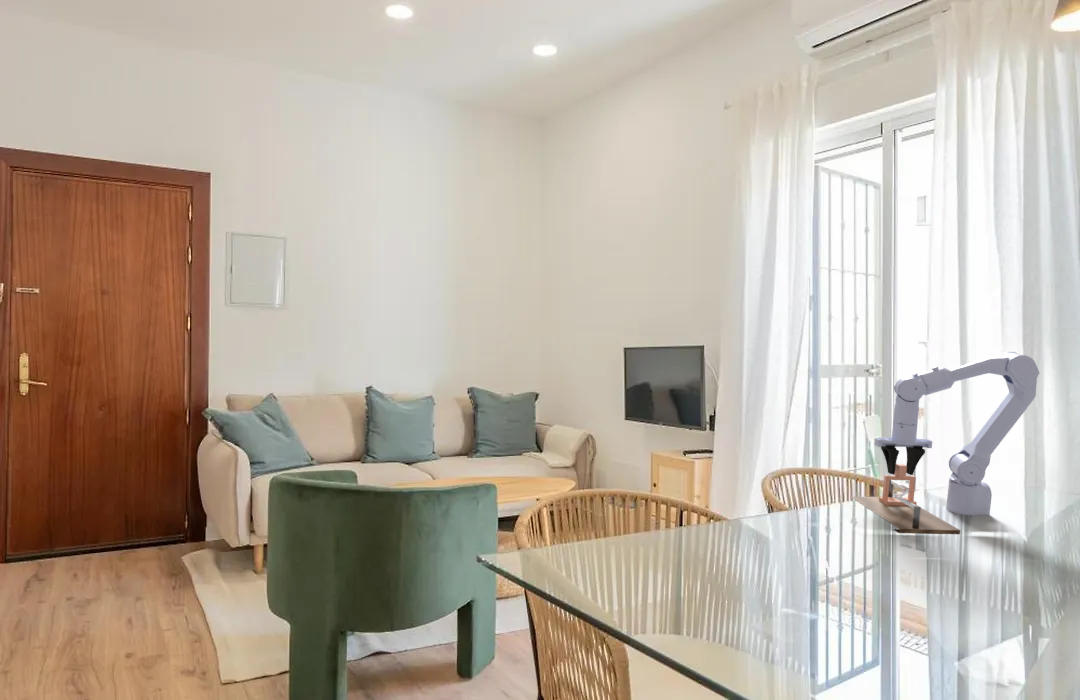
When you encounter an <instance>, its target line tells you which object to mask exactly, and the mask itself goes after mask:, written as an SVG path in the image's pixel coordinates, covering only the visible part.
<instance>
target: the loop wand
mask: <svg viewBox="0 0 1080 700" xmlns="http://www.w3.org/2000/svg"><path fill="white" fill-rule="evenodd" d="M906 465H907V464H904V463H896V468H895V474H894V475H893V474H884V477H883V486H882V487H883V488H882V496H878V497H879V501H881V502H882V503H884V504H885V505H895V506H908V505H906V504H904V503H903V502H901V501H899V500H898V499H896V498H895V496H894V497H888V493H889V482H890V480H894V481H908V482H909V483H908V488H909V489H910V492H908V493H907V497H905V496H904V497H903V496H902V497H903V498H905V499H906V500H908V501H910V502H912V503H913V504H915V505H917V504H918V503H917V502H916V501H915V500H914V499H915V488H916V479H917V477H916V475H907V473H906V471H907V466H906Z"/></svg>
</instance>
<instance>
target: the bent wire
mask: <svg viewBox="0 0 1080 700" xmlns="http://www.w3.org/2000/svg"><path fill="white" fill-rule="evenodd" d="M894 486H895V487H897V488H899V489H901V491H900V492H898V493H896V494H895V495H894V489H895V488H894ZM908 492H910V489H909V487H907V486H905V485H903V484H901V483H899V482H898V481H897V480H890V482H889V493H888V497H893V496H894V497H895V498H896V499H898V500H899V501H901V502H903V503H904V504H906V505H908V506H910V507H911V508H913V509H914V514H913V524H912V528H914V529H919V520H920V510H921V508H922V507H921V506H919V505H917V504H916V505H915V504H913V503H912V502H910V501H908V500H906V499H905V498H903V496H904V497H905V495H906V494H907V495H908Z"/></svg>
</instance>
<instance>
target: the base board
mask: <svg viewBox="0 0 1080 700" xmlns="http://www.w3.org/2000/svg"><path fill="white" fill-rule="evenodd" d="M879 497H880V496H850V498H852V499H853V500H854V501H856V502H858V503H859V504H860V505H862V506H864V507H865V508H866V509H868V510H869V511H871V512H872V513H874V514H876V515H877V516H879V517H880V518H881V519H883V520H884V521H886V522H888V523H889V524H891V525H892V526H893V527H896V528H893V530H894V531H895V532H896V533H898V534H928V535H931V534H932V535H961V529H960V528H957V527H956V526H953V525H952V524H950V523H949V522H947V521H946V520H944V519H941V518H940V517H938V516H936V515H934V514H933V513H931V512H930V511H929V510H925V509H924V508H923V507H921V510H920V520H919V529H914V528H912V524H913V514H914V509H913V508H911V507H910V506H895V505H885V504H884V503H882V502H881V501H879Z"/></svg>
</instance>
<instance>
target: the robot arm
mask: <svg viewBox="0 0 1080 700" xmlns="http://www.w3.org/2000/svg"><path fill="white" fill-rule="evenodd" d="M985 374H987V375H988V374H992V375H997V376H1002V377H1003V379H1004V380H1005V383H1006V386H1007V389H1008V394H1007V395H1006V396H1005V398H1004V399H1003V400H1002V402H1001V403H1000V404H999V405H998V407H997V408H996V410H995V411H993V413H992V415H991V416H990V417H989V418H988V420H986V422H985V424H984V425H983V426H982V428H981V429H980V430H979V431H978V433H977V434H976V436H975V437H974V438H973V439H972V441H971V442H970V443H968V444H966V445H963V447H962V449H960V450H959V451H958V452H956V453H954V454H953V455H951V456H950V458H949V460H948V467H949V470H950V471H951V472H952V473H951V474H950V476H949V478H948V488H947V498H946V506H945V507H946V508H945V509H946V510H947V511H949V512H951V513H953V514H958V515H963V516H989V515H990V514H991V504H992V494H993V493H992V490H991V487H990V486H989V484H988V483H986V482H985V481H983V480H984V478H985V475H986V470H987V468H988V467H989V465H990V462H991V457H992V456H991V455H992V454H993V453H994V451H995V450H996V449H997V448H998V447H999V445H1000V443H1001V442H1003V440H1004V438H1005V437H1006V436H1007V435H1008V433H1009V432H1010V431H1011V429H1012V428H1013V427H1014V426H1015V425H1016V423H1017V422H1018V421H1019V419H1020V418H1021V416H1022V415H1023V414H1024V413H1025V411H1026V410H1027V409H1028V407H1029V406H1030V405H1031V404H1032V402H1033V401H1034V400H1035V398H1036V396H1037V395H1036V394H1037V386H1038V385H1037V384H1038V382H1037V381H1038V377H1039V375H1040V371H1039V369H1038V366H1037V363H1036V362H1035V360H1034V359H1033V358H1032V357H1030V356H1029V355H1025V354H1020V353H1017V352H1016V351H1007V352H1003V353H1002V354H1001V353H998V354H993V355H992V354H991V355H990V356H987V357H984V358H981V359H977V360H975V361H971V362H969V363H966V364H963V365H960V366H957V367H953V368H950V369H949V368H945V367H943V366H940V367H939V366H937V365H935V366H932V367H931V370H928V371H924V372H922V373H917V372H913V373H912V377H910V376H903V377H900V378H899V379H898V380H896V383H895V385H893V390H894V393H895V394H896V396H895V404H894V411H893V420H892V431H891V436H890V437H889V436H887V437H875V438H874V444H873V445H874V446H876V447H878V448H880V449H881V451H882V454H883V455H884V456H883V457H884V459H885V463H886V468H887V473H888V474H889V475H894V474H895V468H896V464H897V460H898V456H899V454H900V450H898V449H897V448H905V450H906V464H905V465H906V466H907V471H906V474H907V475H909V476H914V473H915V471H916V468H917V466H918V464H919V462H920V460H921V459H922V457H923V456H924V455H925V453H926V449H925V448H927V449H932V447H933V440H930V439H928V438H926V439H923V438H917V435H918V434H917V433H918V424H919V423H918V420H919V412H920V400H921V398H922V397H923V396H928V395H931V394H935V393H939V392H943V391H946V390H949V389H951V388H952V386H953V385H954V384H955V382H960V381H962V380H966V379H970V378H974V377H978V376H982V375H985Z"/></svg>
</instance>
